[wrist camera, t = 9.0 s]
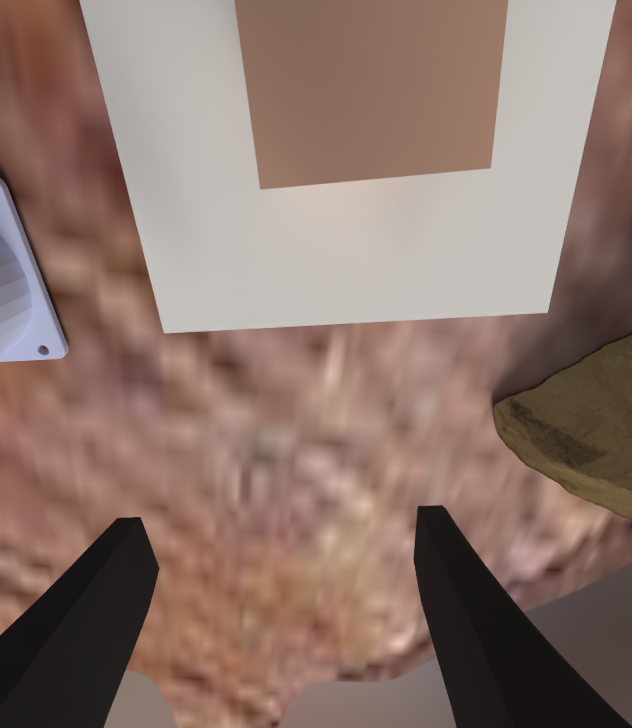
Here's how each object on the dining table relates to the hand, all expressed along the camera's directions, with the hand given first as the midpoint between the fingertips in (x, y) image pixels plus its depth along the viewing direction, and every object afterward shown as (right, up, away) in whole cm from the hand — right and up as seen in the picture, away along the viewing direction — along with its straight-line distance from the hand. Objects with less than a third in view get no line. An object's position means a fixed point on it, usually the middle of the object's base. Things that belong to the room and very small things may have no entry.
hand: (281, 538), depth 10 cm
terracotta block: (+2, +13, +2) cm, 13 cm away
